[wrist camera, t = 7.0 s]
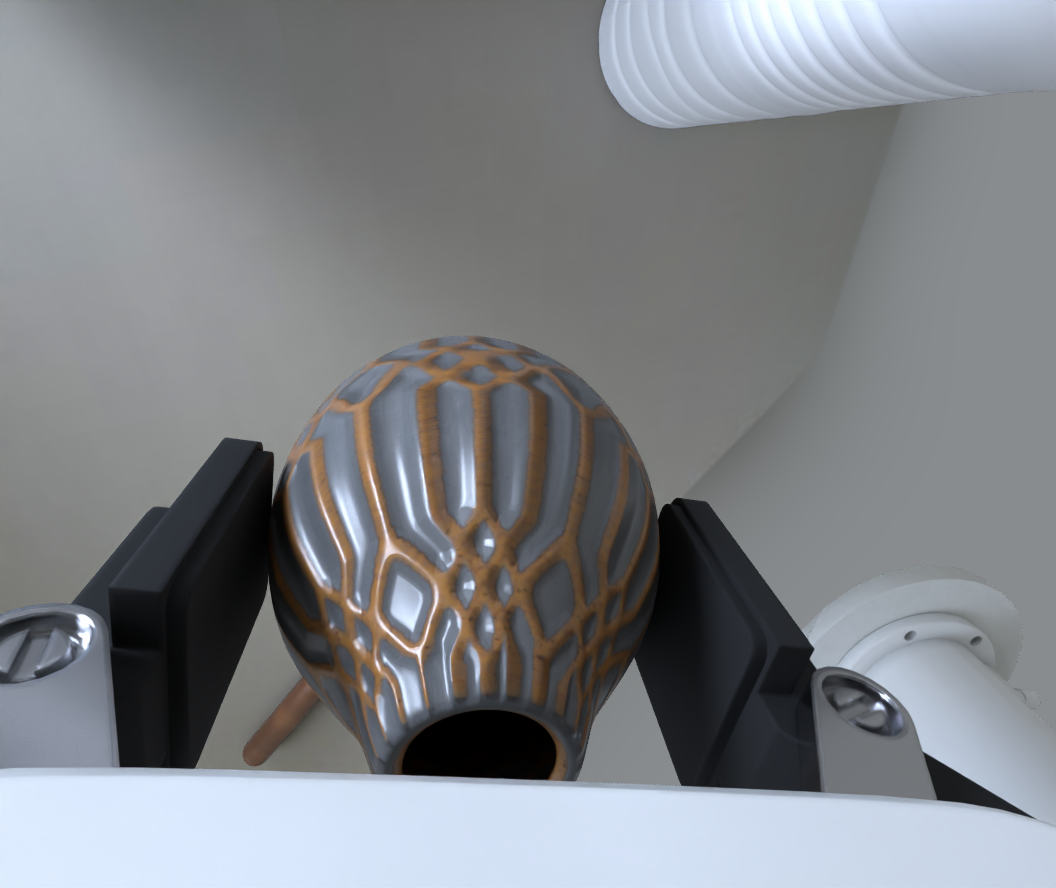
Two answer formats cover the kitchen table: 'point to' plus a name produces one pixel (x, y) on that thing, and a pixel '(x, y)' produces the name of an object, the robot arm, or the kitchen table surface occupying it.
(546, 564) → the vase
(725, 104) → the water bottle
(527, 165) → the kitchen table surface
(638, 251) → the kitchen table surface
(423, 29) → the kitchen table surface
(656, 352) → the kitchen table surface
